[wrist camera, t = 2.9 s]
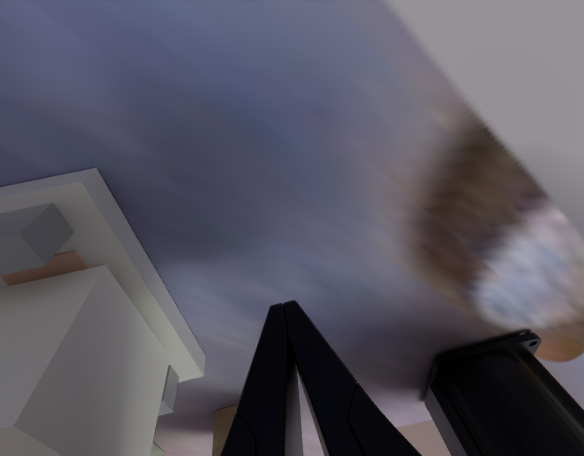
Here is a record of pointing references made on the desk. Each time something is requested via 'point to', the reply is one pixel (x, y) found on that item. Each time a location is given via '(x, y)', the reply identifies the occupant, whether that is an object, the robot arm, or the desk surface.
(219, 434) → the tan rectangular block
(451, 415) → the robot arm
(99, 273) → the breaker
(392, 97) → the desk surface
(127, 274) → the panel
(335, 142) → the desk surface
